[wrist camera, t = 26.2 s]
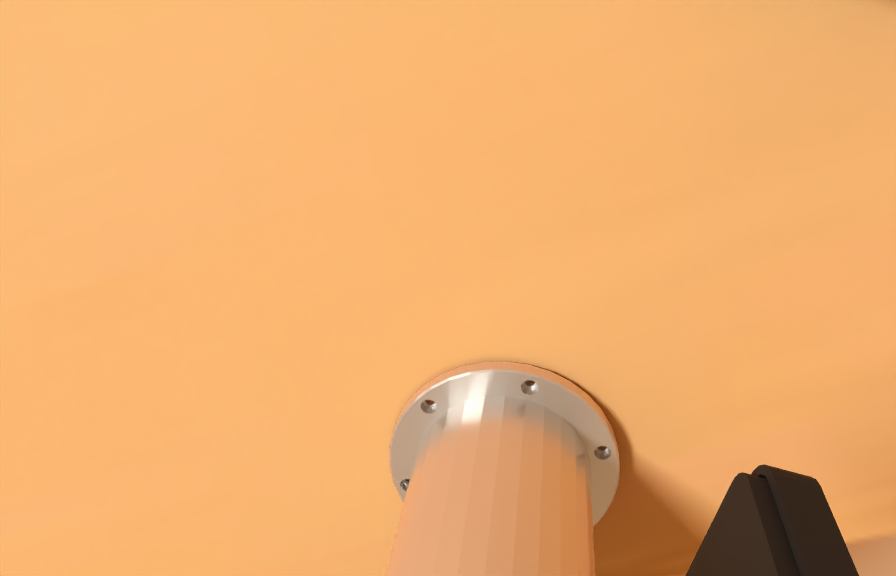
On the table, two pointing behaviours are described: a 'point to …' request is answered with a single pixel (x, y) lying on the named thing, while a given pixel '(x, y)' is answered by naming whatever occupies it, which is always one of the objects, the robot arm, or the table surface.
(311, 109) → the table surface
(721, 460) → the table surface
